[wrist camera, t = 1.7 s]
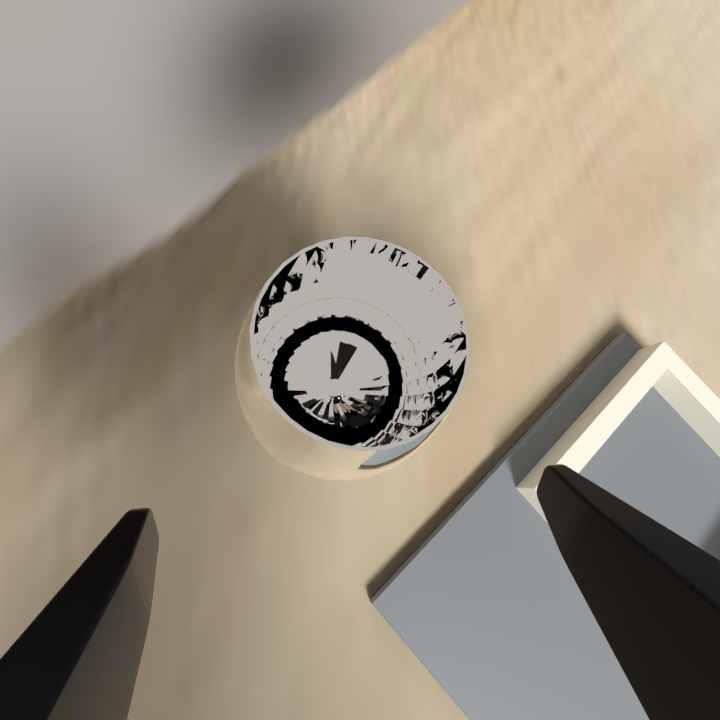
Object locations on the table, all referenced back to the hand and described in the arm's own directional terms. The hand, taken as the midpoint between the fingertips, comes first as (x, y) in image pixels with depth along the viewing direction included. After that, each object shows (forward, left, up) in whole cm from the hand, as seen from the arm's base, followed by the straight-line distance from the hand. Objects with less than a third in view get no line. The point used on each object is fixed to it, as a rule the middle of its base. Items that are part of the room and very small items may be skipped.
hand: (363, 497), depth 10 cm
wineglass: (+3, -2, -10) cm, 11 cm away
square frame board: (-12, -8, -10) cm, 18 cm away
